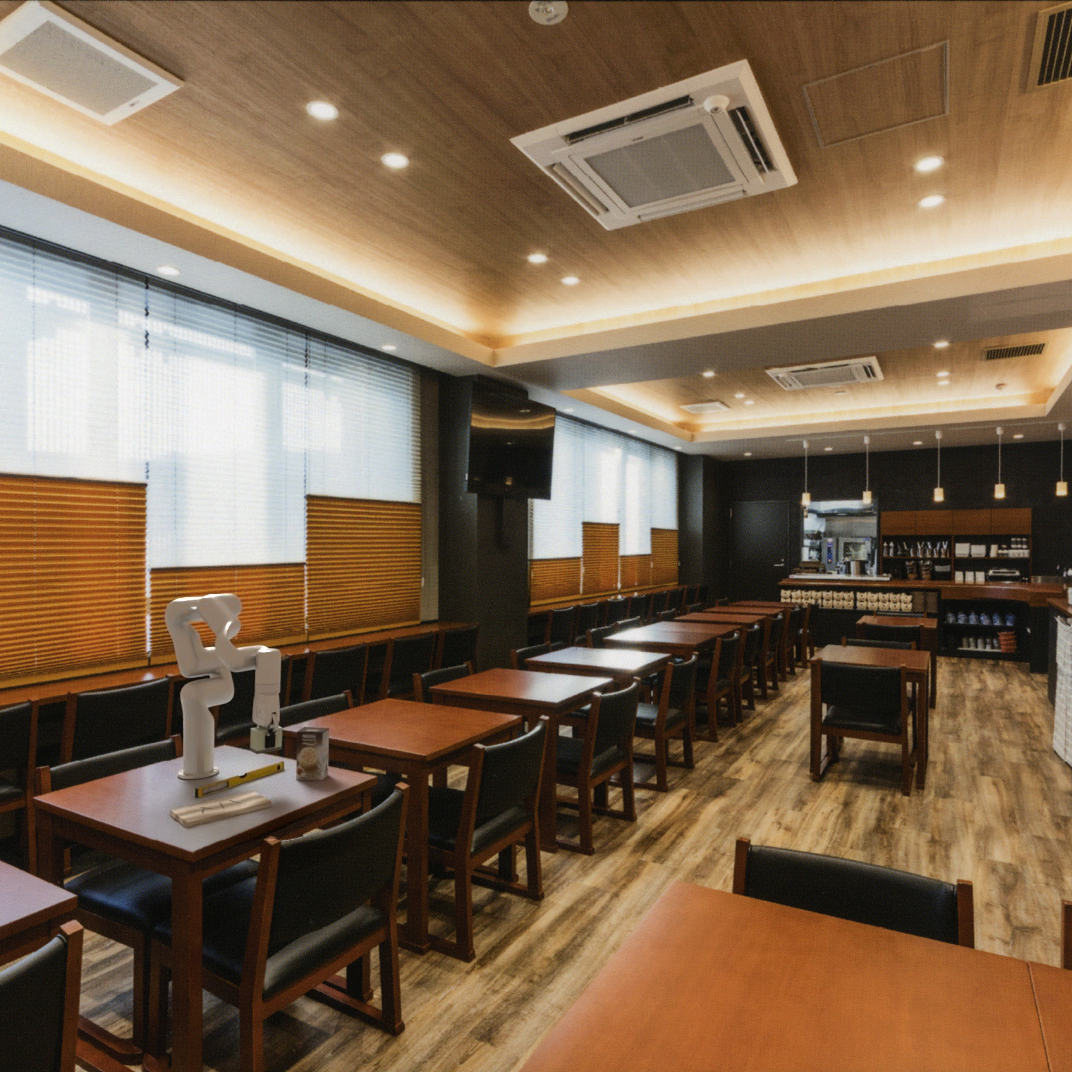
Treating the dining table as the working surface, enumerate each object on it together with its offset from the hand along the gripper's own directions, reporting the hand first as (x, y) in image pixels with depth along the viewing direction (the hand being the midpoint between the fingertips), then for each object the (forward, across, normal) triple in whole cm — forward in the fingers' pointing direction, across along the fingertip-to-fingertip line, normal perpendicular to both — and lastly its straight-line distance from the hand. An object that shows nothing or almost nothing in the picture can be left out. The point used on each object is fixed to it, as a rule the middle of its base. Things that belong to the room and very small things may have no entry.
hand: (266, 745), depth 232 cm
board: (+14, +8, -17) cm, 24 cm away
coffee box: (+15, -2, +17) cm, 23 cm away
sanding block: (+2, 0, 0) cm, 2 cm away
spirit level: (+15, -13, -2) cm, 20 cm away
